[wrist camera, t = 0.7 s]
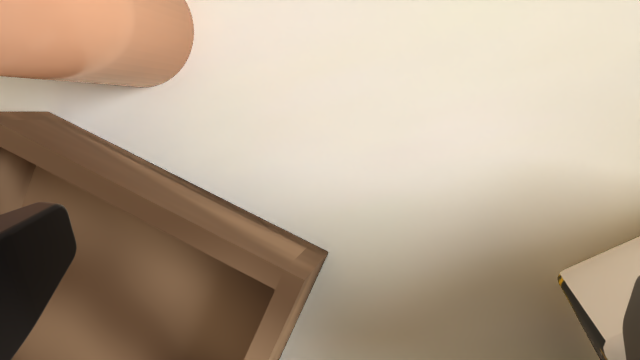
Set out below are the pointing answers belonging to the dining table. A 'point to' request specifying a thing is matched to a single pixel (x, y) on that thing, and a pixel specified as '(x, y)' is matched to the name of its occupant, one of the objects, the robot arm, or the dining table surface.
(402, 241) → the dining table surface
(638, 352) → the robot arm
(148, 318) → the tray
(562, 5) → the dining table surface
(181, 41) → the canister
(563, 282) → the medicine bottle
